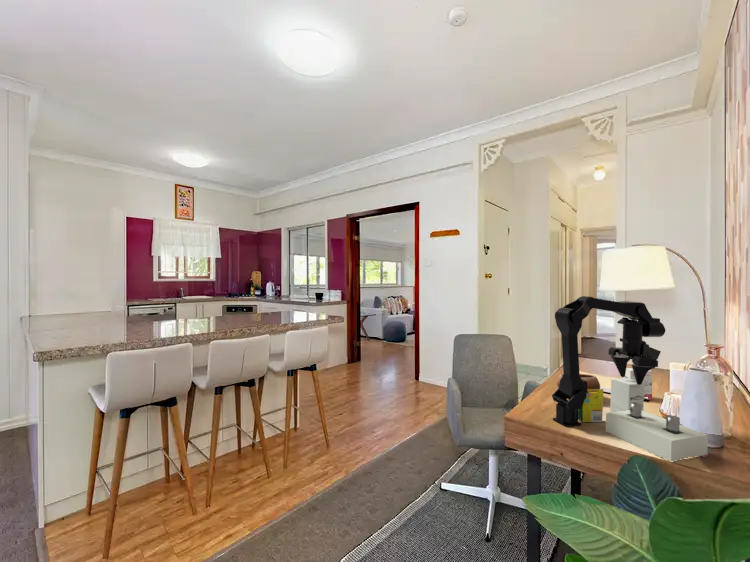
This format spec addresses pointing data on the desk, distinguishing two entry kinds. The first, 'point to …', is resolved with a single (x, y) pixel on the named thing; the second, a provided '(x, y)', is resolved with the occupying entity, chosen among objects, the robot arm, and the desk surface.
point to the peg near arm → (636, 410)
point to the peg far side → (672, 424)
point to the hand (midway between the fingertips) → (630, 380)
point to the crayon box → (592, 407)
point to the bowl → (591, 381)
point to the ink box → (646, 381)
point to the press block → (657, 435)
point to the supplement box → (625, 394)
